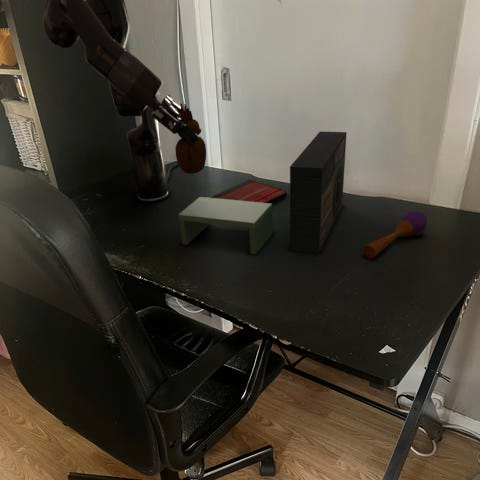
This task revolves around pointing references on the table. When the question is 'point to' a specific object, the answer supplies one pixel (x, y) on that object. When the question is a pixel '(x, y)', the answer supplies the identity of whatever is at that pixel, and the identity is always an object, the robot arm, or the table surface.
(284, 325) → the table surface
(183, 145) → the wooden figurine
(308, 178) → the cassette player
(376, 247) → the orange and purple maraca
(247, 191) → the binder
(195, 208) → the desk shelf
